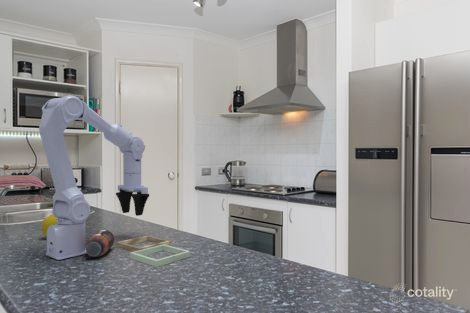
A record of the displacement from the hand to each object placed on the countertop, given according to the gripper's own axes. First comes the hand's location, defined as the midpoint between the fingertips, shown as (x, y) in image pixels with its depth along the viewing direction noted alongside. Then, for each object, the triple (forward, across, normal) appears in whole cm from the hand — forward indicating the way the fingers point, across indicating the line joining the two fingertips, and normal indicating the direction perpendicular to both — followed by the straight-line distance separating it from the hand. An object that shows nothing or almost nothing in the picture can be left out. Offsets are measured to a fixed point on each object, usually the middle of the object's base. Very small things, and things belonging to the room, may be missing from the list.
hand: (132, 213), depth 116 cm
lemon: (+9, +21, +17) cm, 29 cm away
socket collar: (+8, -11, +3) cm, 14 cm away
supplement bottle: (+6, -4, +12) cm, 14 cm away
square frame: (+8, -24, +7) cm, 26 cm away
